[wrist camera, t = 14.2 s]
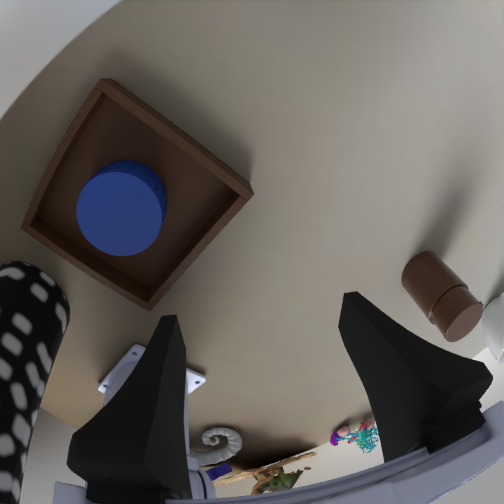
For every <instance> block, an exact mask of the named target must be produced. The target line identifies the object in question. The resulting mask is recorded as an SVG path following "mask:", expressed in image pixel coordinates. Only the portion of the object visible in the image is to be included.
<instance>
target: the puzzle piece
mask: <svg viewBox="0 0 504 504" xmlns="http://www.w3.org/2000/svg"><path fill="white" fill-rule="evenodd" d="M231 471H232V469H231V467H230V466H229V464H228V463H225V464H222V465H220V466H218V467H214V468H212V469H209V470H207V471H205V472H206V473H207V474H208V476H209V478H210V479H211V480H212V481H213V480H215V479H217V478H218V477H220V476H223V475H225V474H227V473H229V472H231Z"/></svg>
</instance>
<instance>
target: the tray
mask: <svg viewBox="0 0 504 504" xmlns="http://www.w3.org/2000/svg"><path fill="white" fill-rule="evenodd" d="M123 159H125V160H131V161H134V160H136V162H139V163H142V164H146V166H147V167H149V168H150V169H152V170H153V171H155V173H156V174H157V175H158V177H159V178H160V179H162V183H163V185H164V188H165V189H166V197H167V199H168V202H167V205H166V210H167V211H166V215H165V219H164V222H163V224H162V226H161V229H160V233H159V234H158V236H157V237H156V239H155V240H154V242H153V243H152V244H151V245H150V246H149V247H148V248H146V249H145V250H143V251H141V252H139V253H137V254H134V255H129V256H116V255H111V254H108V253H105V252H103V251H101V250H99V249H97V248H96V247H95V246H93V245H92V244H91V243H90V242H89V241H88V240H87V239H86V238H85V236H84V235H83V233H82V231H81V229H80V227H79V224H78V221H77V215H76V206H77V200H78V197H79V195H80V192H81V191H82V189H83V188H84V186H85V185H86V182H87V181H88V180H89V179H90V178H91V177H93V176H94V175H95V174H96V173H97V172H98V171H99V170H100V169H101V168H102V167H103V166H107V165H109V164H111V163H112V162H113V161H114V162H117V161H122V160H123ZM253 195H254V192H253V190H252V188H251V185H250V183H248V182H247V181H246V180H245V179H243V178H242V177H241V176H240V175H238V174H237V173H236V172H235V171H234V170H232V169H231V168H230V167H229V166H227V165H226V164H225V163H223V162H222V161H221V160H220V159H218V158H217V157H216V156H215V155H213V154H212V153H211V152H210V151H208V150H207V149H206V148H204V147H203V146H202V145H201V144H199V143H198V142H197V141H195V140H194V139H193V138H192V137H190V136H189V135H188V134H186V133H185V132H184V131H182V130H181V129H180V128H178V127H177V126H176V125H174V124H173V123H172V122H170V121H169V120H168V119H166V118H165V117H164V116H162V115H161V114H160V113H158V112H157V111H156V110H154V109H153V108H152V107H150V106H149V105H147V104H146V103H145V102H143V101H142V100H141V99H139V98H138V97H136V96H135V95H134V94H132V93H131V92H129V91H128V90H127V89H125V88H124V87H122V86H121V85H120V84H118V83H117V82H115V81H114V80H112V79H111V78H109V79H100V81H99V82H98V83H97V85H96V87H95V88H94V89H93V91H92V92H91V93H90V95H89V96H88V98H87V99H86V101H85V102H84V104H83V106H82V107H81V109H80V110H79V112H78V113H77V115H76V117H75V118H74V120H73V122H72V123H71V125H70V127H69V128H68V130H67V132H66V134H65V135H64V137H63V139H62V141H61V142H60V144H59V146H58V148H57V150H56V152H55V153H54V155H53V157H52V159H51V161H50V163H49V165H48V167H47V169H46V171H45V173H44V175H43V177H42V179H41V181H40V184H39V186H38V188H37V190H36V192H35V195H34V197H33V199H32V202H31V204H30V206H29V209H28V211H27V214H26V216H25V219H24V221H23V224H22V226H21V228H22V229H23V230H24V231H26V232H27V233H29V234H30V235H31V236H33V237H34V238H35V239H37V240H38V241H40V242H41V243H42V244H44V245H45V246H47V247H48V248H49V249H51V250H52V251H54V252H55V253H57V254H58V255H60V256H61V257H63V258H64V259H65V260H67V261H68V262H70V263H71V264H73V265H74V266H76V267H78V268H79V269H81V270H82V271H84V272H85V273H87V274H88V275H90V276H91V277H93V278H95V279H96V280H98V281H99V282H101V283H103V284H104V285H106V286H107V287H109V288H111V289H112V290H114V291H116V292H117V293H119V294H121V295H122V296H124V297H126V298H127V299H129V300H131V301H133V302H134V303H136V304H138V305H139V306H141V307H143V308H145V309H146V310H148V311H151V310H152V309H153V307H154V306H155V305H156V304H157V303H158V301H159V300H160V299H161V298H162V297H163V296H164V294H165V293H166V292H167V291H168V290H169V289H170V288H171V286H172V285H173V284H174V283H175V282H176V281H177V280H178V278H179V277H180V276H181V275H182V274H183V273H184V272H185V270H186V269H187V268H188V267H189V266H190V265H191V264H192V262H193V261H194V260H195V259H196V258H197V257H198V256H199V255H200V253H201V252H202V251H203V250H204V249H205V248H206V247H207V246H208V244H209V243H210V242H211V241H212V240H213V239H214V238H215V237H216V236H217V234H218V233H219V232H220V231H221V230H222V229H223V228H224V227H225V226H226V225H227V223H228V222H229V221H230V220H231V219H232V218H233V217H234V216H235V215H236V214H237V213H238V211H239V210H240V209H241V208H242V207H243V206H244V205H245V204H246V203H247V201H248V200H249V199H250V198H251V197H252V196H253Z"/></svg>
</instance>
